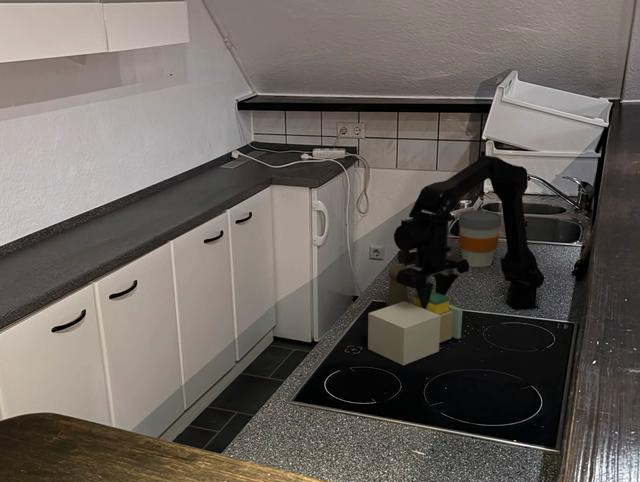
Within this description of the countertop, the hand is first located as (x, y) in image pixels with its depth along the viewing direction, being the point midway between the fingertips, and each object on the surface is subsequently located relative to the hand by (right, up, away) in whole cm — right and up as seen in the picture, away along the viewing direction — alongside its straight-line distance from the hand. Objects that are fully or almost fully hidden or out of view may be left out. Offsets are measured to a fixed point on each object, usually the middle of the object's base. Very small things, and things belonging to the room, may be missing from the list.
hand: (431, 305), depth 180 cm
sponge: (0, -1, 0) cm, 1 cm away
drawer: (0, -7, +3) cm, 8 cm away
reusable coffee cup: (+25, +13, +56) cm, 63 cm away
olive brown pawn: (-4, 0, +25) cm, 25 cm away
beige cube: (-7, -10, -2) cm, 13 cm away
